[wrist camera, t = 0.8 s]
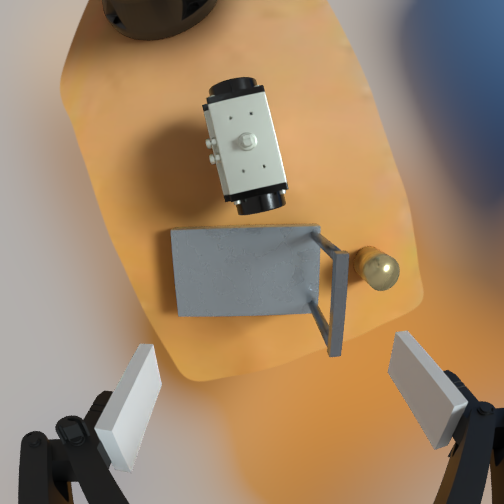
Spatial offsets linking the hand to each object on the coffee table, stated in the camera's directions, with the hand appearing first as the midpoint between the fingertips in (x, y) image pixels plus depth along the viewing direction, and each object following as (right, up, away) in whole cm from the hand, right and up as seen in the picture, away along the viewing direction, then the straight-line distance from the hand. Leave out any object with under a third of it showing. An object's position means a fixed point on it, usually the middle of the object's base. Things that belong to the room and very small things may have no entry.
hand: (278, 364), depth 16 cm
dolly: (-2, +4, +22) cm, 22 cm away
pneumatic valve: (-2, +17, +19) cm, 25 cm away
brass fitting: (+13, +5, +22) cm, 26 cm away
